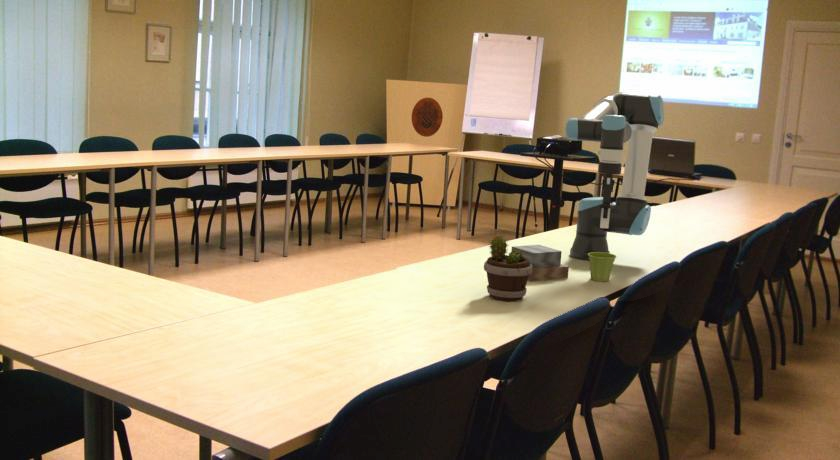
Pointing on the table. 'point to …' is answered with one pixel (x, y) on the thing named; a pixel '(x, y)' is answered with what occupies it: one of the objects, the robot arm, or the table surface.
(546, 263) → the pedestal
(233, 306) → the table surface
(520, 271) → the flowerpot
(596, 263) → the plant pot
